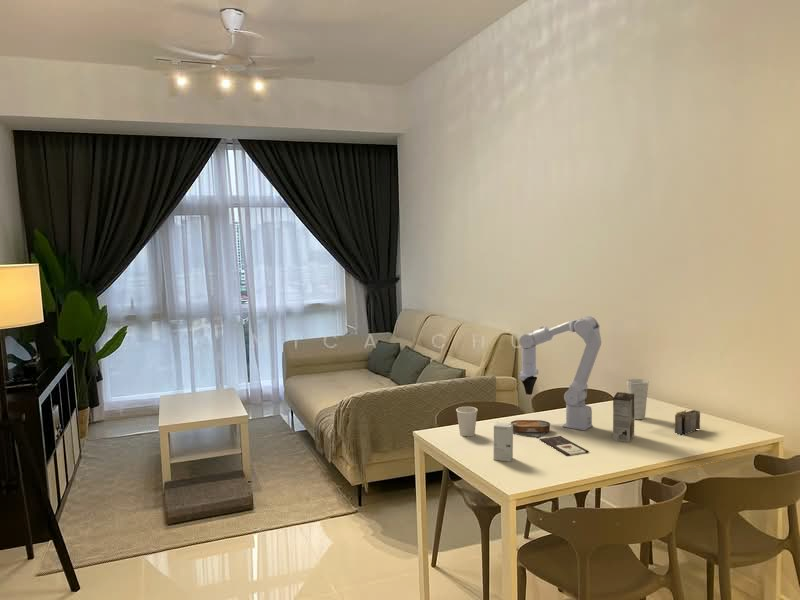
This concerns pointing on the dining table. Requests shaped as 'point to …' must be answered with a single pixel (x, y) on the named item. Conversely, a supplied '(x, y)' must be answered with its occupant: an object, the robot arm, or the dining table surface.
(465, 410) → the dixie cup
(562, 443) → the chocolate bar
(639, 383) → the cup
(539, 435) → the mat
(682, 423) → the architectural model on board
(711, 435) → the dining table surface
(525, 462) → the dining table surface
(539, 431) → the tin
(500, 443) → the skincare box
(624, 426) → the coffee box
